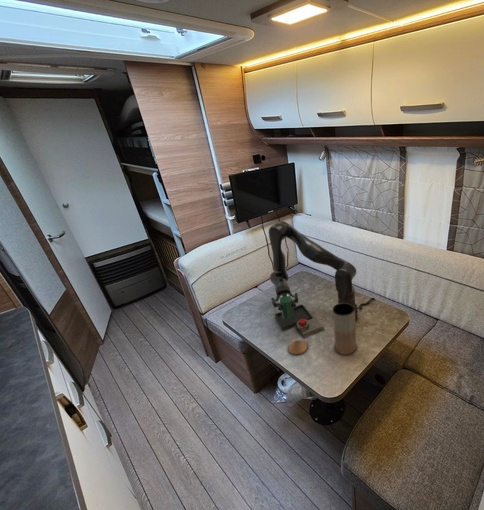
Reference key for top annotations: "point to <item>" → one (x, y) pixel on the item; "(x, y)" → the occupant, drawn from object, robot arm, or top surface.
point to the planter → (344, 327)
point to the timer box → (310, 327)
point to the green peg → (287, 307)
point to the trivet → (298, 347)
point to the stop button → (302, 321)
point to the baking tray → (299, 314)
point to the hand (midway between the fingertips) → (287, 307)
